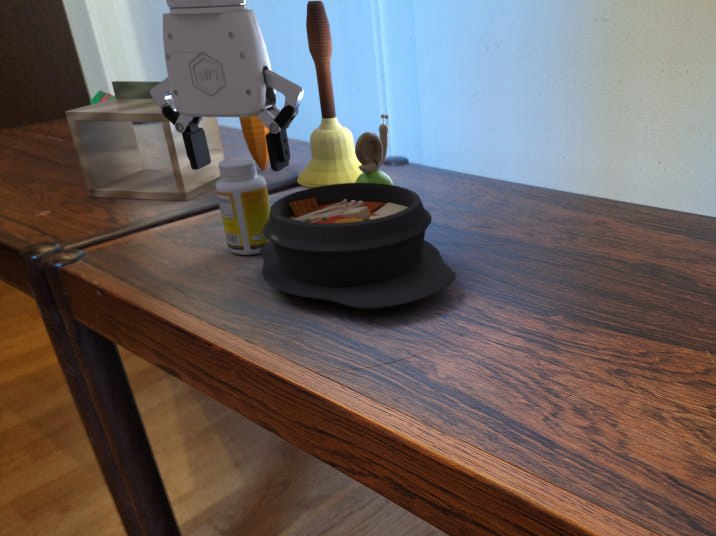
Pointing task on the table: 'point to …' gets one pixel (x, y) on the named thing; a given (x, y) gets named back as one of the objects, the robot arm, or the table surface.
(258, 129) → the carrot
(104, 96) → the building blocks
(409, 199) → the casserole
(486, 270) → the table surface
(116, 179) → the shelf
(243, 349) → the table surface
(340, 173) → the handbell
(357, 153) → the snail figurine
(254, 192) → the supplement bottle
